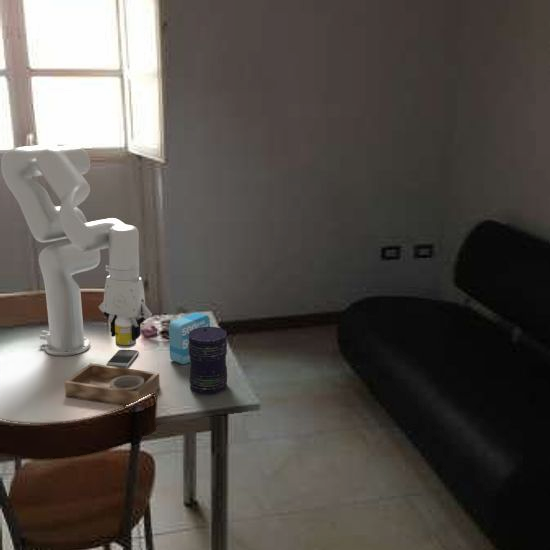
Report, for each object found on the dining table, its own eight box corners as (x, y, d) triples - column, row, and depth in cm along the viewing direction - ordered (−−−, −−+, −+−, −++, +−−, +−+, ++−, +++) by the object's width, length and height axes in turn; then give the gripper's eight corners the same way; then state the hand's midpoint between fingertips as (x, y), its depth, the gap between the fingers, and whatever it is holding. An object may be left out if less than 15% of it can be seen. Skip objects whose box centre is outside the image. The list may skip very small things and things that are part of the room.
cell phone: (140, 354, 192) (139, 350, 192) (126, 370, 182) (126, 365, 181) (119, 353, 193) (119, 348, 192) (105, 369, 182) (105, 364, 182)
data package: (180, 366, 184) (179, 326, 180) (169, 361, 186) (168, 322, 183) (210, 352, 193) (210, 314, 189) (199, 348, 195) (198, 310, 192)
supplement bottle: (116, 340, 179) (115, 307, 176) (136, 340, 180) (136, 307, 177) (114, 349, 174) (113, 314, 171) (135, 349, 175) (134, 315, 172)
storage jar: (231, 393, 168) (230, 338, 164) (193, 398, 166) (191, 342, 161) (223, 376, 178) (222, 324, 173) (186, 381, 175) (185, 328, 171)
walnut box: (65, 396, 166) (64, 382, 164) (91, 376, 177) (90, 363, 175) (137, 408, 160) (137, 393, 159) (159, 387, 171) (159, 373, 170)
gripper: (87, 272, 169) (89, 336, 175) (147, 281, 165) (148, 347, 171) (102, 264, 176) (104, 326, 182) (161, 273, 172) (161, 336, 178)
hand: (125, 336), depth 176 cm, fingers closed on supplement bottle, 5 cm apart
